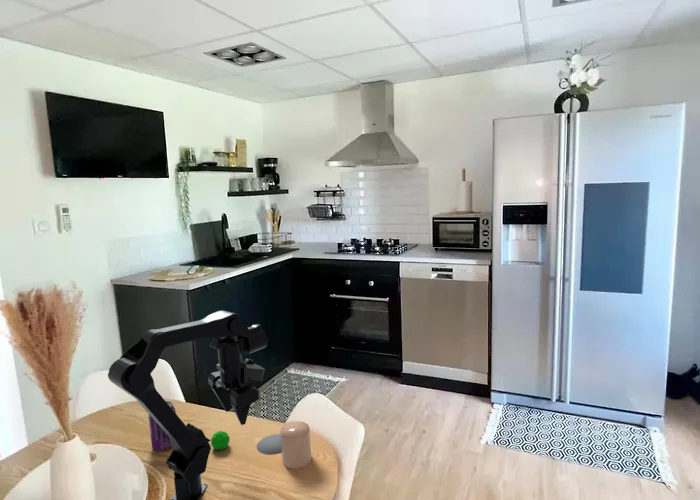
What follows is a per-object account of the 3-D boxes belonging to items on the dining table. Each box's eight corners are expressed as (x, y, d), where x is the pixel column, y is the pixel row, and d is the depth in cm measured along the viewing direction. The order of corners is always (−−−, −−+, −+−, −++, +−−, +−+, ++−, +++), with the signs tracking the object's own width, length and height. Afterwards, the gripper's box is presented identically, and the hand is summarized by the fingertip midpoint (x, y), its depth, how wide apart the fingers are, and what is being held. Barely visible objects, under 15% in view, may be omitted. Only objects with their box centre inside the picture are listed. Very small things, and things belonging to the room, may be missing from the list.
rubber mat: (287, 455, 118) (287, 454, 118) (252, 455, 119) (251, 454, 119) (296, 435, 128) (296, 434, 128) (263, 435, 129) (262, 434, 129)
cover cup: (308, 469, 112) (305, 436, 111) (279, 469, 113) (277, 436, 111) (313, 452, 119) (311, 421, 118) (286, 452, 120) (284, 421, 119)
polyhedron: (207, 451, 122) (206, 435, 122) (220, 442, 127) (218, 426, 126) (221, 455, 120) (220, 438, 119) (233, 445, 124) (232, 429, 124)
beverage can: (169, 453, 122) (164, 412, 120) (146, 451, 123) (142, 411, 122) (183, 439, 129) (179, 400, 127) (162, 437, 130) (158, 399, 129)
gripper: (276, 361, 110) (280, 419, 112) (243, 343, 124) (248, 395, 126) (234, 374, 103) (240, 436, 105) (204, 353, 117) (210, 409, 119)
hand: (235, 417), depth 114 cm, fingers open, 9 cm apart
